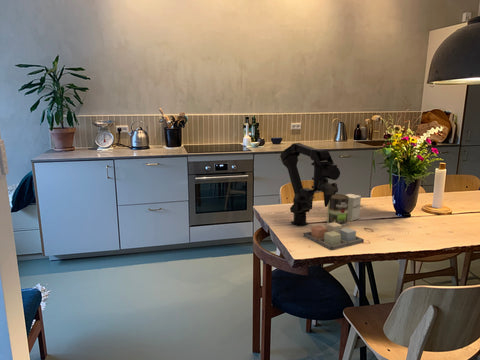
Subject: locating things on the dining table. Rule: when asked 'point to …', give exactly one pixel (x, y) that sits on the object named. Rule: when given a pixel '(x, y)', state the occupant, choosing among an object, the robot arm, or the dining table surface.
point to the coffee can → (338, 209)
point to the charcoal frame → (336, 237)
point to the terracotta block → (318, 231)
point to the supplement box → (353, 207)
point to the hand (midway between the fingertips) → (318, 208)
